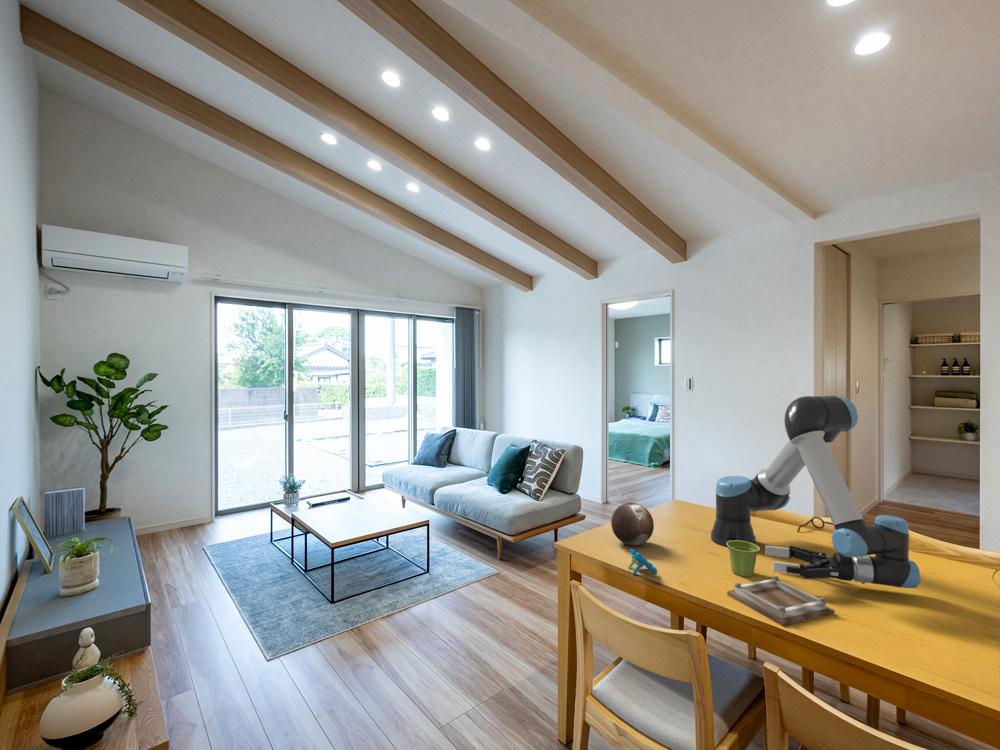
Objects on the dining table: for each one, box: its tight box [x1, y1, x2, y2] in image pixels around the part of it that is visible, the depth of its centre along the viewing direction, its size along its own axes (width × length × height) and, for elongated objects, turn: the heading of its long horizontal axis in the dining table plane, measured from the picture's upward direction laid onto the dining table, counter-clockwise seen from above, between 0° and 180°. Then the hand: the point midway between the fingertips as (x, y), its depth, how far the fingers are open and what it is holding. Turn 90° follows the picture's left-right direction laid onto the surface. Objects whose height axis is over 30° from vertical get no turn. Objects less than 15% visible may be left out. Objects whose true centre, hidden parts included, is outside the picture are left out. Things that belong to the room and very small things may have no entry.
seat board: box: [726, 575, 836, 627], centre depth 133 cm, size 18×18×4 cm
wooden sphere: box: [610, 502, 655, 547], centre depth 178 cm, size 15×15×15 cm
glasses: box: [796, 516, 836, 533], centre depth 189 cm, size 13×13×5 cm
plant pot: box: [726, 540, 761, 578], centre depth 153 cm, size 9×9×9 cm
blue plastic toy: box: [627, 548, 658, 575], centre depth 154 cm, size 11×6×10 cm
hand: (769, 557), depth 150 cm, fingers open, 13 cm apart
